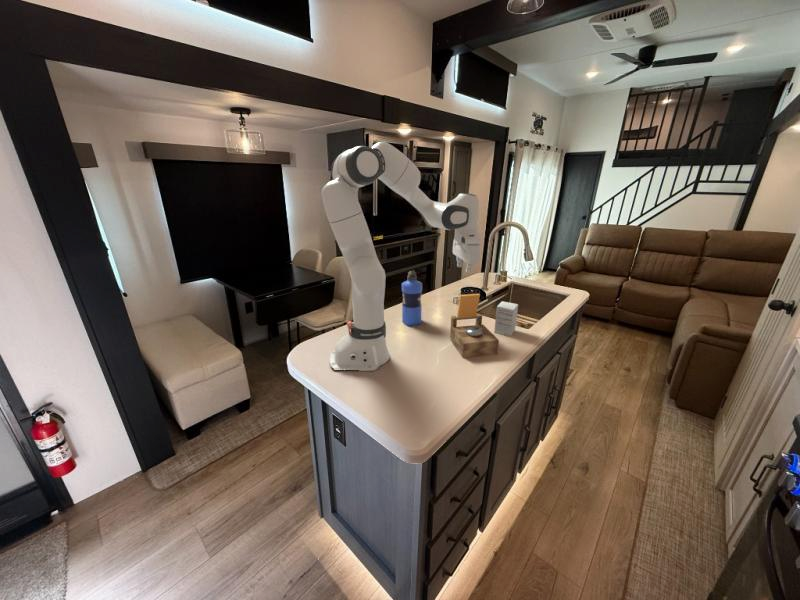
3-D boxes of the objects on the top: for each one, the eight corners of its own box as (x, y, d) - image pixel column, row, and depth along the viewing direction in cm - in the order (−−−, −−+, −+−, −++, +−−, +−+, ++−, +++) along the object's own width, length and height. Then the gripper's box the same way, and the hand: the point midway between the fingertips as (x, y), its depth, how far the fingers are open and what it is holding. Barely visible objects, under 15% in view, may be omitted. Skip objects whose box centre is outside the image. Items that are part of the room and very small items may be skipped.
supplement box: (498, 326, 141) (501, 300, 136) (515, 330, 137) (519, 304, 132) (493, 332, 135) (496, 306, 131) (510, 337, 131) (514, 309, 127)
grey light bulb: (468, 350, 120) (469, 334, 117) (462, 342, 126) (463, 327, 123) (483, 348, 121) (485, 332, 118) (477, 341, 127) (478, 325, 124)
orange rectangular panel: (460, 296, 121) (459, 294, 122) (457, 320, 127) (456, 318, 128) (480, 294, 123) (478, 293, 124) (475, 319, 129) (474, 317, 130)
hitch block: (462, 357, 116) (464, 333, 112) (448, 337, 131) (449, 316, 128) (497, 353, 118) (499, 330, 115) (479, 334, 133) (481, 313, 130)
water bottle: (401, 326, 142) (401, 273, 133) (402, 317, 151) (401, 268, 142) (421, 326, 142) (422, 273, 133) (421, 317, 151) (422, 268, 142)
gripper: (449, 232, 132) (448, 264, 137) (467, 241, 113) (465, 277, 118) (463, 232, 133) (461, 263, 138) (484, 240, 114) (481, 276, 119)
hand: (463, 269), depth 127 cm, fingers open, 8 cm apart
